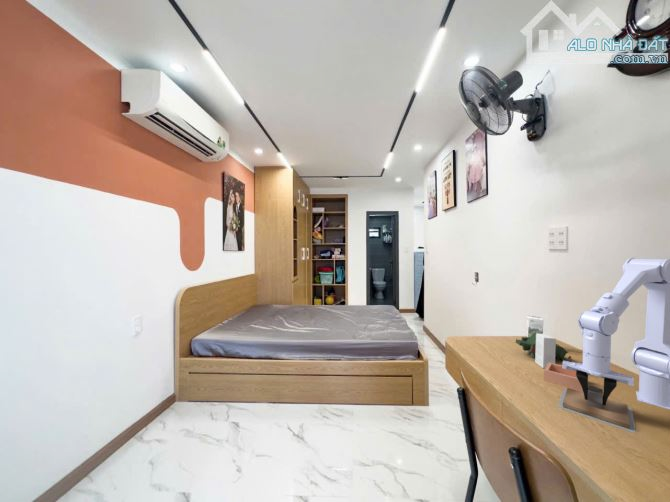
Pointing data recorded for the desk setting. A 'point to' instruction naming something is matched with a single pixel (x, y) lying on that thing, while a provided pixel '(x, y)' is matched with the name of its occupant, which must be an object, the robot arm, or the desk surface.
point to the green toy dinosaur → (530, 346)
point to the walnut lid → (597, 406)
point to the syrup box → (534, 325)
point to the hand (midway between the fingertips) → (595, 401)
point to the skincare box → (545, 349)
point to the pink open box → (561, 376)
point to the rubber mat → (631, 419)
